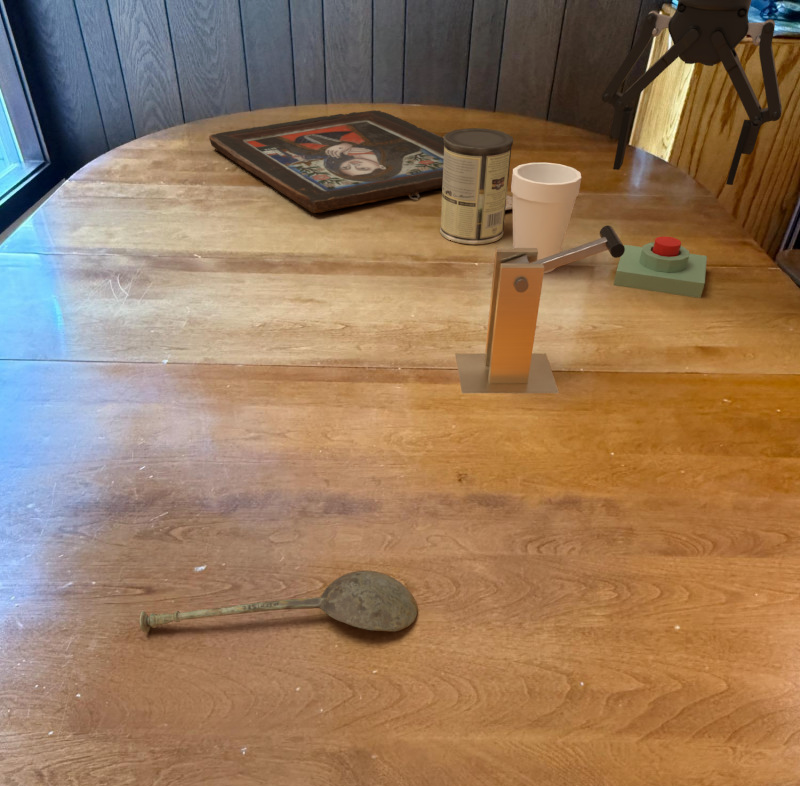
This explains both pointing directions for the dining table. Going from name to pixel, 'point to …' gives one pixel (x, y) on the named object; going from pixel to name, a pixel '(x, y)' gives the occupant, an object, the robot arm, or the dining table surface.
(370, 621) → the soupspoon
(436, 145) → the religious icon
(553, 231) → the foam cup
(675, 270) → the button box
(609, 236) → the lever
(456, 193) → the coffee can
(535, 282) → the bracket
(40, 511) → the dining table surface
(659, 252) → the button
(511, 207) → the flatbread
